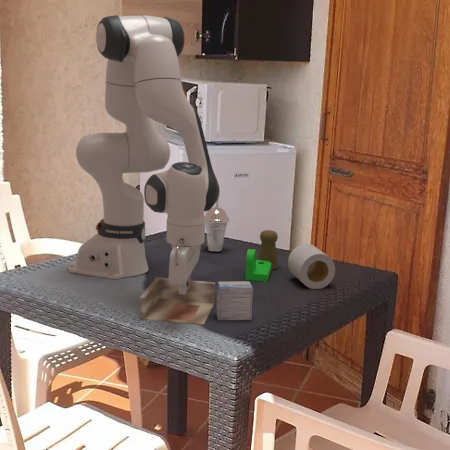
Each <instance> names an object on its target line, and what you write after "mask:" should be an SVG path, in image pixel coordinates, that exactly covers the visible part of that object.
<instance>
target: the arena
mask: <svg viewBox="0 0 450 450" xmlns="http://www.w3.org/2000/svg"><path fill="white" fill-rule="evenodd" d="M215 302H216V282H213V281H203V280H191V279H190V287H189V288H188V289H187V292H186V294H184V295H183V294H179V293H178V285H174V284H170V283H169V277H158V276H156V277H155V278H154V280H153V281H151V283H150V285H148V287H147V288H146V289H145V291H144V292H143V293H142V294H141V296H140V297H139V319H140V318H142V319H141V320H145V319H151V320H150V321H156V320H159V321H158V322H167V321H169V322H170V323H177V322H179V324H187V325H189V324H191V325H200V326H201V325H203V326H205V324H206V322H207V320H208V317H209V316H210V313H211V311H212V309H213V308H214V306H215ZM169 322H168V323H169Z"/></svg>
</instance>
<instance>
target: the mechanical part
mask: <svg viewBox="0 0 450 450" xmlns="http://www.w3.org/2000/svg"><path fill="white" fill-rule="evenodd" d="M245 258H246V260H245V276H244V277H245V279H244V281H245V280H246V281H255V282H256V281H257V282H266V283H267V281H268V280H269V277H270V274H271V272H272V270H271V263H270V262H268V261H262V260H258V259H257V249H250V248H248V249H247V252H246V256H245Z"/></svg>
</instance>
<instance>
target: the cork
mask: <svg viewBox="0 0 450 450" xmlns="http://www.w3.org/2000/svg"><path fill="white" fill-rule="evenodd" d="M278 237H279V236H278V233H277V232H276V231H274V230H270V229H269V230H262V231H261V232H260V234H259V239H260V241H261V243H260V247H259V249H260V250H259V253H258V258H257V260H262V261H268V262H270V263H271V271H272V270H276V269H277V268H278V262H277V261H278V259H277V247H276V242H277V241H278V239H279V238H278Z"/></svg>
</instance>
